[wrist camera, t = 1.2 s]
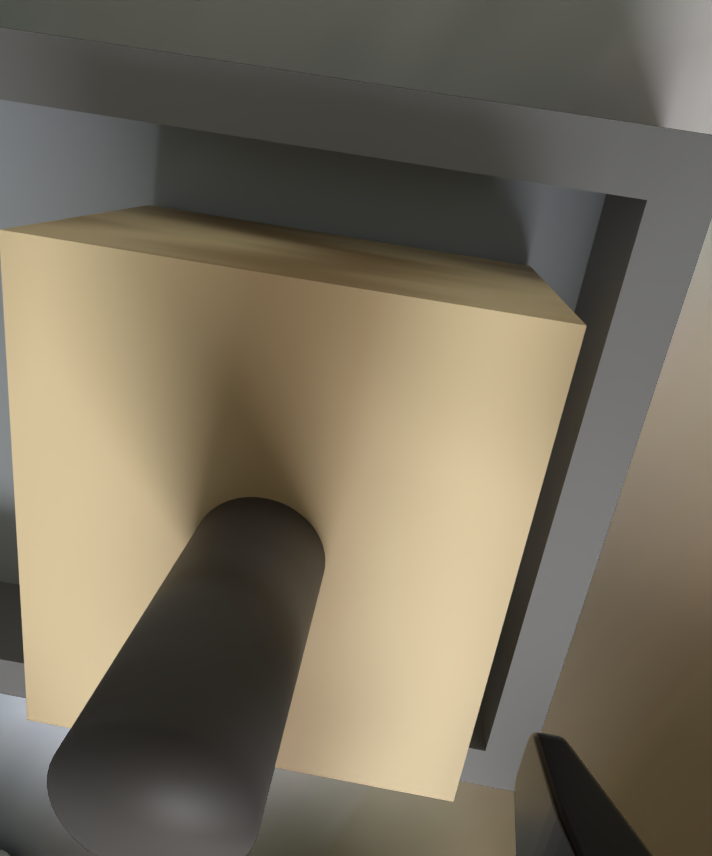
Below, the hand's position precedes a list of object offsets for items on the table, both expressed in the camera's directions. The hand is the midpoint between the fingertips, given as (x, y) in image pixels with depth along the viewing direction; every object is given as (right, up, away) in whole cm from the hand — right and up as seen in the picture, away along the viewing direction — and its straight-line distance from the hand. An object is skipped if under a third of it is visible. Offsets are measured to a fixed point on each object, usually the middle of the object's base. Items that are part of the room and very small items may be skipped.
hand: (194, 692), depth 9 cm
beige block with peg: (+1, +4, +9) cm, 9 cm away
